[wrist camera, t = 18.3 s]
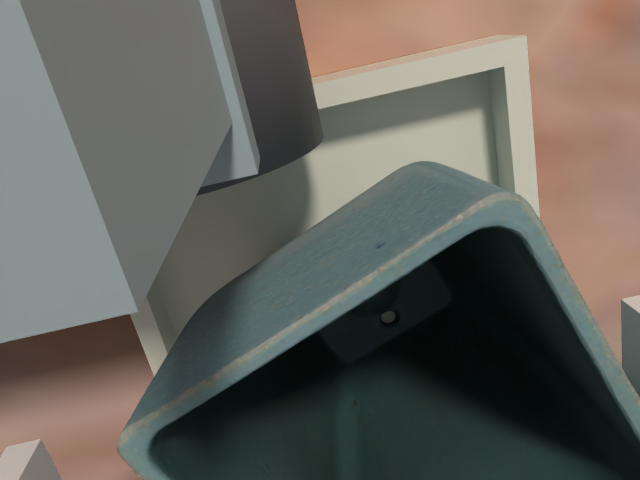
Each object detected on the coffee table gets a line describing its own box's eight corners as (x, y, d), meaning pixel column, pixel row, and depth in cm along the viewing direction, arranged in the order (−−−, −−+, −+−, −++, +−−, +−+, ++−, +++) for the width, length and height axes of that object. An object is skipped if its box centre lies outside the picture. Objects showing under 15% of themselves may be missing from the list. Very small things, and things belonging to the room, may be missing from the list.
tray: (207, 452, 22) (199, 494, 20) (87, 129, 18) (62, 142, 16) (528, 379, 22) (553, 414, 20) (497, 34, 18) (526, 35, 15)
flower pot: (533, 305, 20) (707, 509, 12) (332, 423, 22) (359, 678, 13) (408, 102, 17) (519, 180, 9) (186, 256, 19) (102, 446, 10)
